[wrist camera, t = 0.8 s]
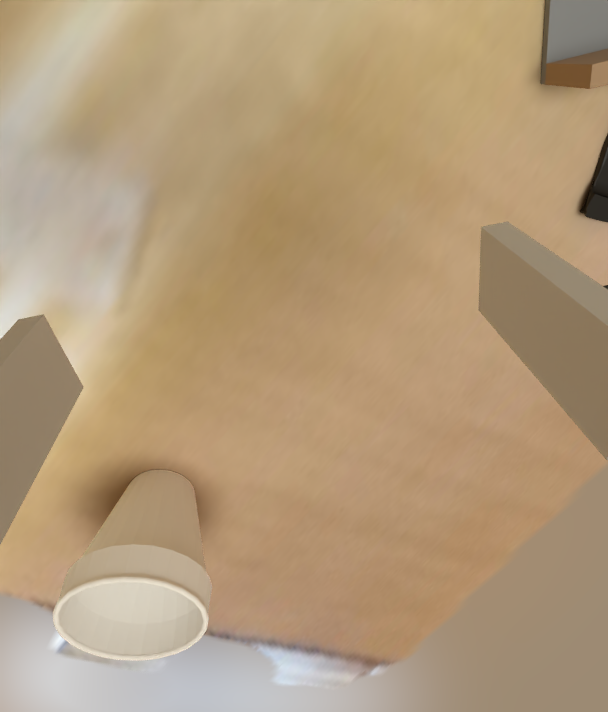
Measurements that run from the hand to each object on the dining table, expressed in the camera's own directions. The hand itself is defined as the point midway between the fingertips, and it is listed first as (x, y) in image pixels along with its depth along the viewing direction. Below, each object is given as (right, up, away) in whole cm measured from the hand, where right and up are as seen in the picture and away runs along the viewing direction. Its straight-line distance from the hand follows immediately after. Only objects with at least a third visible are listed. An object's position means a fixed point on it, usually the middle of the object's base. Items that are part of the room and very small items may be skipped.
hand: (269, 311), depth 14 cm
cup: (-14, -16, +35) cm, 41 cm away
